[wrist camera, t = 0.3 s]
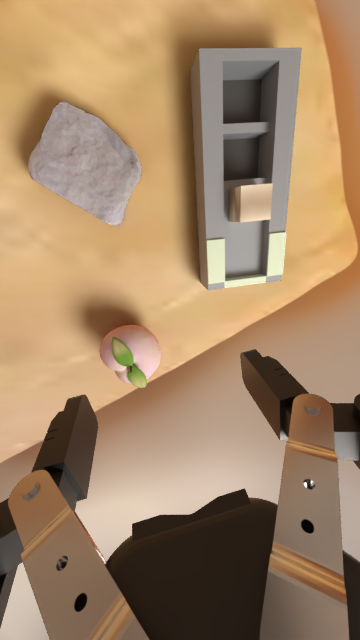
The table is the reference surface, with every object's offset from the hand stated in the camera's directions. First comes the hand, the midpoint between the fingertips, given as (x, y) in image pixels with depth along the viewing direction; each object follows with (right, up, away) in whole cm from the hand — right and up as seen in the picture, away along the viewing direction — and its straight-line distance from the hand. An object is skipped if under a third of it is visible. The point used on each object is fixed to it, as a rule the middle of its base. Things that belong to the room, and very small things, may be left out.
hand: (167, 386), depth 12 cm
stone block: (-11, +23, +19) cm, 32 cm away
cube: (+9, +19, +21) cm, 30 cm away
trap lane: (+9, +22, +23) cm, 33 cm away
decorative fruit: (-7, +1, +29) cm, 30 cm away
